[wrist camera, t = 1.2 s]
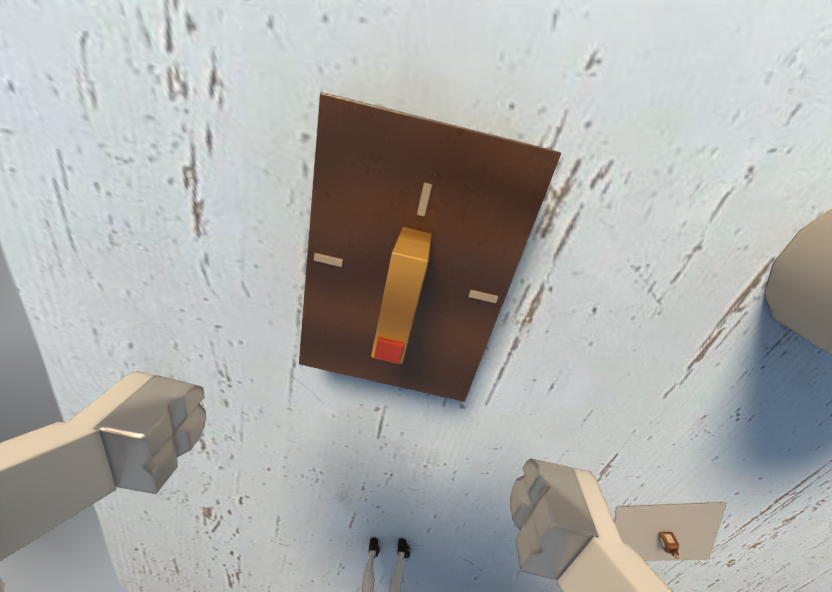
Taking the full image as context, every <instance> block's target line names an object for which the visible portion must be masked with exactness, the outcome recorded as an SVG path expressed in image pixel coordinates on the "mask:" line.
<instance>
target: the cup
mask: <svg viewBox="0 0 832 592" xmlns="http://www.w3.org/2000/svg"><path fill="white" fill-rule="evenodd" d="M765 296H766V299H767V302H768V305H769V308H770V311H771V314H772V316H773V319H774V320H776V321H778V322H779V323H781V324H783V325H784V326H786V327H787V328H789V329H791V330H792V331H794V332H796V333H797V334H799V335H801V336H802V337H804V338H805V339H807V340H809V341H810V342H812V343H814V344H815V345H817V346H819V347H820V348H822V349H824V350H825V351H827V352H828V353H830V354H832V209H831V210H830V211H828V212H827V213H825V214H824V215H822V216H821V217H819V218H818V219H816V220H815V221H813V222H812V223H810V224H809V225H807V226H806V227H804V228H803V229H801V231H800V232H799V233H798V234H797V235H796V237H795V238H794V239H793V240H792V241H791V243H790V244H789V245H788V246H787V248H786V249H785V250H784V251H783V252H782V254H781V255H780V256H779V257H778V258H777V260H776V261H775V262H774V264H773V268H772V271H771V275H770V278H769V282H768V285H767V288H766V292H765Z"/></svg>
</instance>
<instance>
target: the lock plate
mask: <svg viewBox="0 0 832 592" xmlns="http://www.w3.org/2000/svg"><path fill="white" fill-rule="evenodd" d="M560 155H561V153H560V152H558V151H554V150H550V149H547V148H543V147H539V146H535V145H531V144H527V143H523V142H519V141H515V140H511V139H507V138H503V137H499V136H495V135H491V134H487V133H483V132H479V131H475V130H471V129H467V128H463V127H459V126H455V125H451V124H447V123H443V122H439V121H435V120H431V119H427V118H423V117H419V116H415V115H411V114H407V113H403V112H399V111H395V110H391V109H387V108H383V107H379V106H375V105H371V104H367V103H363V102H359V101H355V100H351V99H347V98H343V97H339V96H335V95H330V94H326V93H320V102H319V114H318V127H317V140H316V152H315V165H314V178H313V191H312V203H311V216H310V229H309V241H308V254H307V267H306V280H305V292H304V305H303V318H302V330H301V343H300V356H299V364H300V365H305V366H309V367H314V368H318V369H322V370H327V371H331V372H336V373H340V374H344V375H349V376H353V377H358V378H362V379H366V380H371V381H375V382H380V383H384V384H388V385H393V386H397V387H402V388H406V389H410V390H415V391H419V392H424V393H428V394H433V395H437V396H441V397H446V398H450V399H455V400H459V401H463V402H465V400H466V397H467V395H468V392H469V390H470V387H471V384H472V382H473V379H474V377H475V374H476V372H477V369H478V366H479V364H480V361H481V359H482V356H483V354H484V351H485V348H486V346H487V343H488V341H489V338H490V336H491V333H492V330H493V328H494V325H495V323H496V320H497V318H498V315H499V312H500V310H501V307H502V305H503V302H504V300H505V297H506V294H507V292H508V289H509V287H510V284H511V282H512V279H513V276H514V274H515V271H516V269H517V266H518V264H519V261H520V258H521V256H522V253H523V251H524V248H525V246H526V243H527V240H528V238H529V235H530V233H531V230H532V228H533V225H534V222H535V220H536V217H537V215H538V212H539V209H540V207H541V204H542V202H543V199H544V197H545V194H546V191H547V189H548V186H549V184H550V181H551V179H552V176H553V173H554V171H555V168H556V166H557V163H558V161H559V158H560ZM403 227H406V228H410V229H414V230H418V231H422V232H426V233H431V234H432V238H431V246H430V253H429V261H428V265H427V269H426V273H425V277H424V281H423V285H422V289H421V293H420V297H419V301H418V304H417V308H416V312H415V316H414V320H413V324H412V328H411V332H410V336H409V340H408V344H407V347H406V351H405V355H404V359H403V363H402V364H396V363H392V362H388V361H383V360H379V359H375V358H372V356H371V354H372V349H373V344H374V339H375V334H376V329H377V324H378V319H379V314H380V309H381V304H382V299H383V294H384V289H385V284H386V279H387V274H388V269H389V264H390V259H391V254H392V251H393V249H394V247H395V244H396V242H397V239H398V237H399V235H400V232H401V230H402V228H403Z"/></svg>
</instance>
